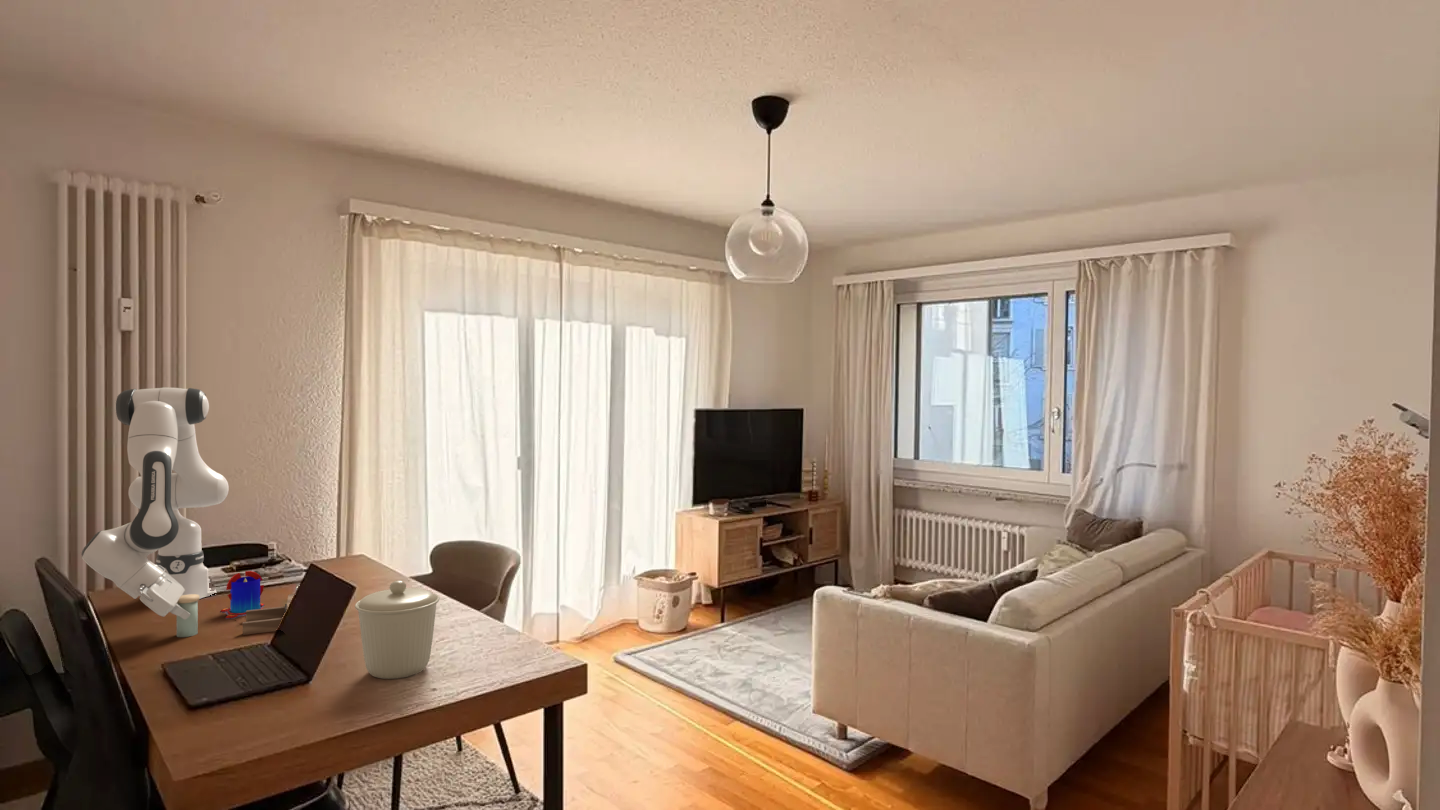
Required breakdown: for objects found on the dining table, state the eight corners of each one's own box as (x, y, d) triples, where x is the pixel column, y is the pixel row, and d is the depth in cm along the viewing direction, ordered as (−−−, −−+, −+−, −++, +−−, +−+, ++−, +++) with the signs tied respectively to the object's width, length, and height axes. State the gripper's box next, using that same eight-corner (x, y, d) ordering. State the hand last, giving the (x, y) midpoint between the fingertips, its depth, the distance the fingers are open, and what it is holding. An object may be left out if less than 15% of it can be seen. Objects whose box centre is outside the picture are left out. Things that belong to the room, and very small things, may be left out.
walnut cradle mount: (246, 620, 219) (246, 598, 219) (294, 614, 225) (294, 594, 224) (242, 636, 205) (242, 613, 205) (293, 629, 210) (293, 607, 210)
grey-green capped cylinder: (176, 633, 207) (176, 595, 207) (200, 630, 210) (200, 593, 209) (173, 638, 202) (173, 600, 202) (198, 635, 205) (197, 598, 205)
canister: (387, 692, 167) (387, 595, 167) (338, 675, 177) (337, 583, 177) (456, 667, 183) (456, 578, 182) (407, 653, 192) (407, 568, 192)
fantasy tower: (225, 620, 219) (225, 577, 219) (218, 611, 228) (218, 570, 228) (272, 612, 227) (272, 571, 227) (264, 604, 236) (263, 564, 236)
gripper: (147, 580, 193) (194, 614, 198) (161, 564, 211) (204, 595, 216) (125, 600, 191) (173, 634, 196) (141, 582, 209) (185, 613, 214)
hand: (190, 613), depth 206 cm, fingers closed on grey-green capped cylinder, 5 cm apart
